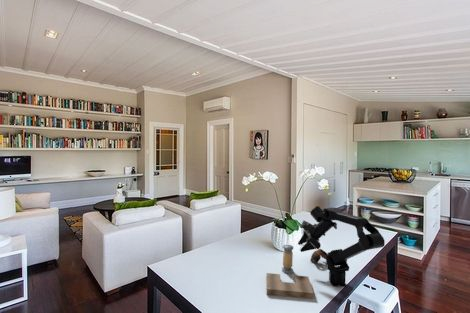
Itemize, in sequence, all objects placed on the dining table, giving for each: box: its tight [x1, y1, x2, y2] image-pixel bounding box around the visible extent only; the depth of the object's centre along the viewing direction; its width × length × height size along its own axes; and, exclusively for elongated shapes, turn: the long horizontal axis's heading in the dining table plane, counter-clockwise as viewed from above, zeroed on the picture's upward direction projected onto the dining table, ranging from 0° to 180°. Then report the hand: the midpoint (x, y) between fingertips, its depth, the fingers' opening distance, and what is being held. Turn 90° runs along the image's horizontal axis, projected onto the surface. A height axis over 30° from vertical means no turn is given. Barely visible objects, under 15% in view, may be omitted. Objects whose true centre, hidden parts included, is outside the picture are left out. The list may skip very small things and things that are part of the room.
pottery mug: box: [310, 248, 328, 265], centre depth 140 cm, size 12×10×8 cm
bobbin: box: [281, 244, 294, 274], centre depth 130 cm, size 6×6×13 cm
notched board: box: [265, 272, 315, 300], centre depth 114 cm, size 20×14×2 cm
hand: (299, 247), depth 129 cm, fingers open, 9 cm apart
